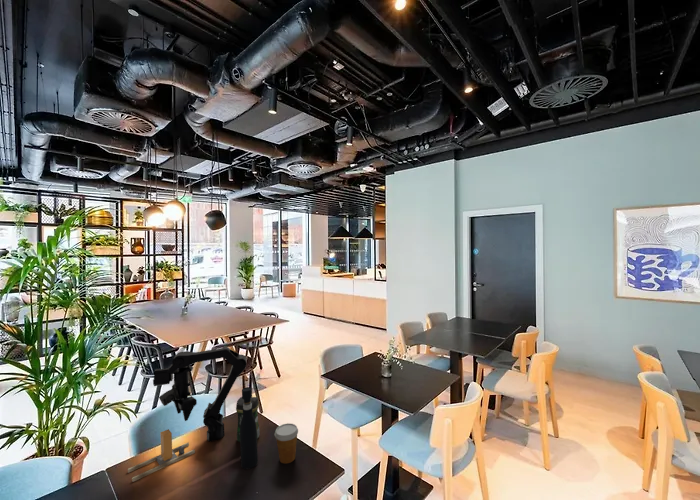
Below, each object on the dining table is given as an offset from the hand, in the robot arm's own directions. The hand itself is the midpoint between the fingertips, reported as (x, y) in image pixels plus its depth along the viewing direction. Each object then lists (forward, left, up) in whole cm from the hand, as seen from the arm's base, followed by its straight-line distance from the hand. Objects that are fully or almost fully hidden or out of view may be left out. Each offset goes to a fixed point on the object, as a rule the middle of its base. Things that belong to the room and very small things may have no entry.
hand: (182, 416), depth 138 cm
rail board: (+10, +7, -13) cm, 18 cm away
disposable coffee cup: (-26, +42, -13) cm, 51 cm away
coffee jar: (-22, +17, -13) cm, 31 cm away
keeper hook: (+3, +7, -12) cm, 14 cm away
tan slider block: (+8, +7, -12) cm, 16 cm away
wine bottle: (-14, +33, -13) cm, 38 cm away
